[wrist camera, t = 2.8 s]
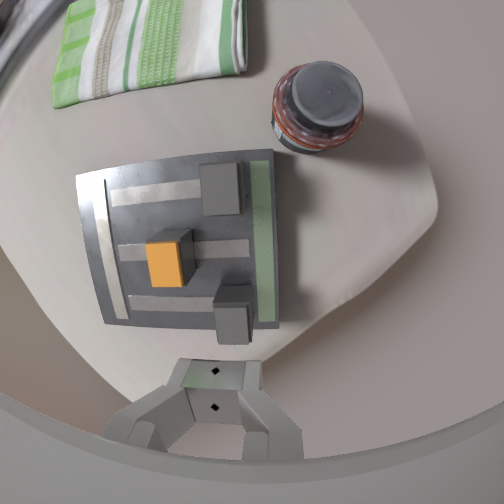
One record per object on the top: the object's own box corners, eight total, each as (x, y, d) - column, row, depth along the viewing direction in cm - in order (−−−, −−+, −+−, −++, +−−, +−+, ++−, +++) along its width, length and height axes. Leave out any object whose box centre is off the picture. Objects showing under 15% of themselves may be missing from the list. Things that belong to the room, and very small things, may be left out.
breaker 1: (208, 164, 22) (196, 163, 19) (243, 161, 22) (238, 160, 18) (211, 210, 24) (201, 218, 20) (246, 208, 23) (242, 216, 20)
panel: (86, 174, 25) (74, 175, 23) (272, 150, 24) (273, 148, 22) (112, 315, 30) (104, 324, 28) (278, 318, 29) (279, 329, 27)
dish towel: (248, 79, 23) (245, 67, 19) (58, 114, 24) (40, 111, 20) (248, -35, 18) (246, -52, 14) (78, 7, 19) (64, -2, 15)
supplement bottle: (294, 82, 22) (312, 27, 11) (346, 119, 23) (398, 89, 12) (258, 130, 24) (251, 100, 13) (312, 167, 24) (345, 166, 13)
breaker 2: (218, 286, 26) (210, 305, 22) (251, 285, 25) (248, 305, 22) (223, 322, 27) (216, 346, 23) (253, 322, 27) (251, 346, 23)
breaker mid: (160, 230, 24) (142, 242, 21) (191, 228, 24) (177, 240, 20) (166, 272, 25) (150, 289, 22) (196, 271, 25) (184, 289, 21)
